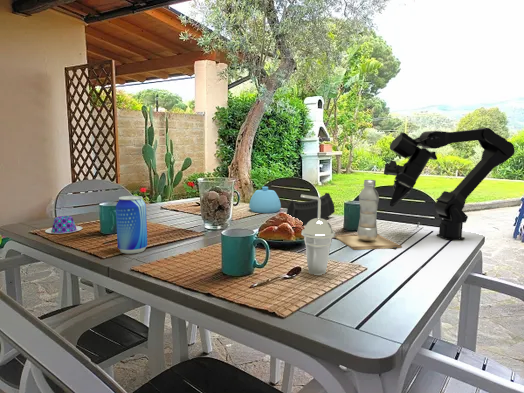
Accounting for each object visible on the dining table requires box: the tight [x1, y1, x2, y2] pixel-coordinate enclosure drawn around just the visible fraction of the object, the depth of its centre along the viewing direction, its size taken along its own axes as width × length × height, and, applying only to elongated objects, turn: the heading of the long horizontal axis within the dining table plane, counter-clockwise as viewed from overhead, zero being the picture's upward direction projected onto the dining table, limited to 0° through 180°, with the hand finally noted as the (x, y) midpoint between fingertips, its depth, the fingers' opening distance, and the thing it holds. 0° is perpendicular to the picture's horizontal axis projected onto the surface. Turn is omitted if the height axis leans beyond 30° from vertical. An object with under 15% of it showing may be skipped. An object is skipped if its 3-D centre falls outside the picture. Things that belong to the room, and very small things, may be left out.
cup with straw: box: [299, 194, 337, 276], centre depth 94 cm, size 8×9×20 cm
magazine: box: [286, 192, 336, 226], centre depth 154 cm, size 17×3×30 cm
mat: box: [334, 233, 403, 251], centre depth 125 cm, size 16×16×1 cm
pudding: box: [44, 215, 83, 235], centre depth 136 cm, size 12×12×5 cm
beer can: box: [115, 195, 148, 255], centre depth 112 cm, size 8×8×16 cm
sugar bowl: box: [248, 186, 282, 214], centre depth 179 cm, size 15×15×12 cm
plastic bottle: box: [356, 179, 380, 241], centre depth 123 cm, size 6×7×20 cm
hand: (391, 205), depth 128 cm, fingers open, 9 cm apart
